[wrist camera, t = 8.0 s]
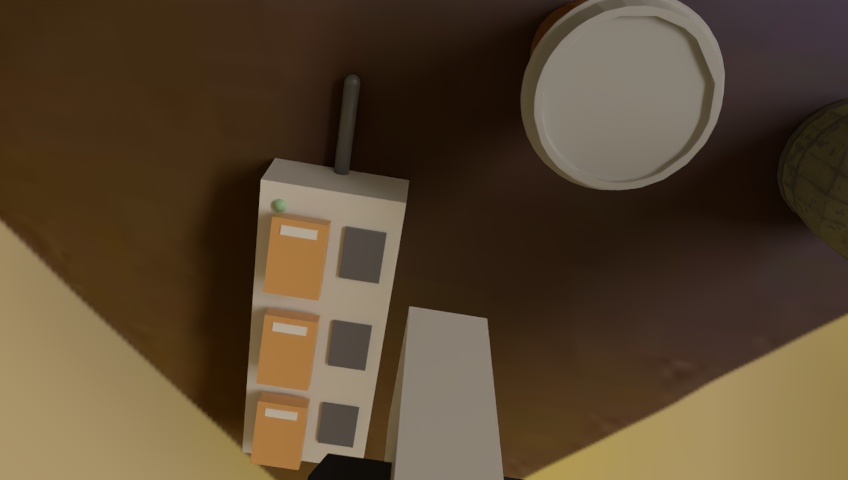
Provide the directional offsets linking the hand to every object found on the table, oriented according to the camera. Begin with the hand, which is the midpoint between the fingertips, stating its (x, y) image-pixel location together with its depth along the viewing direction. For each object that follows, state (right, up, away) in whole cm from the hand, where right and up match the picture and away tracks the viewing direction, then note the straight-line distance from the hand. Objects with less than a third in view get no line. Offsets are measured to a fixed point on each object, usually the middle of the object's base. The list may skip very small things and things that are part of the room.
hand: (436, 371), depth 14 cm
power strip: (-7, 0, +36) cm, 37 cm away
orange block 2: (-9, -5, +32) cm, 34 cm away
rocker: (-10, -11, +35) cm, 38 cm away
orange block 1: (-8, +2, +29) cm, 30 cm away
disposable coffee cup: (+9, +14, +29) cm, 34 cm away
